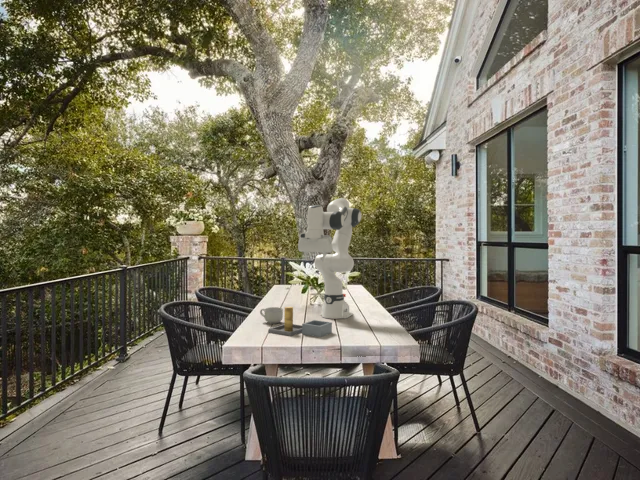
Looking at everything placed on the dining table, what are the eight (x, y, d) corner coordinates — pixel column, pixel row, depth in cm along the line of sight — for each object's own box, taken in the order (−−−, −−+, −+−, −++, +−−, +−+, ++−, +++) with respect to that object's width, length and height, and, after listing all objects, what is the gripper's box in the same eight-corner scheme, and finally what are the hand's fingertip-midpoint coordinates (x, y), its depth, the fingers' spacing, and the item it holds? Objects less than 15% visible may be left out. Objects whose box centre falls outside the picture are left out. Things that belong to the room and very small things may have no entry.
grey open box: (313, 331, 214) (313, 319, 214) (331, 334, 208) (331, 322, 208) (302, 335, 205) (302, 323, 205) (320, 338, 199) (320, 326, 199)
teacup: (286, 321, 236) (286, 308, 236) (275, 325, 227) (275, 311, 227) (267, 319, 243) (267, 306, 243) (255, 322, 234) (256, 308, 234)
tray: (287, 327, 222) (287, 323, 222) (308, 331, 214) (308, 326, 214) (268, 333, 208) (268, 328, 208) (290, 337, 201) (290, 332, 201)
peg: (287, 329, 214) (287, 306, 214) (294, 330, 212) (294, 307, 212) (282, 330, 210) (282, 307, 210) (289, 331, 208) (289, 308, 208)
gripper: (334, 235, 216) (334, 261, 216) (303, 234, 226) (302, 259, 227) (328, 235, 210) (328, 261, 210) (296, 234, 221) (296, 260, 221)
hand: (314, 260), depth 219 cm, fingers open, 8 cm apart
